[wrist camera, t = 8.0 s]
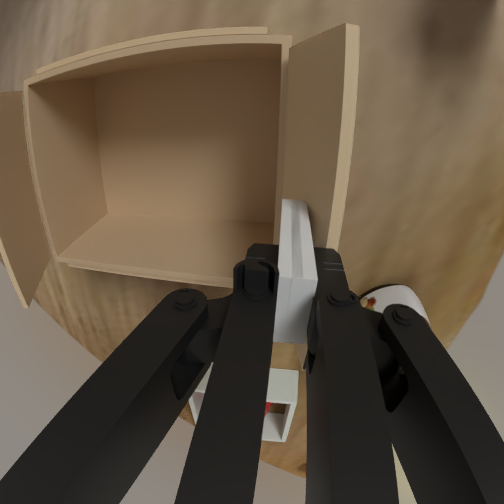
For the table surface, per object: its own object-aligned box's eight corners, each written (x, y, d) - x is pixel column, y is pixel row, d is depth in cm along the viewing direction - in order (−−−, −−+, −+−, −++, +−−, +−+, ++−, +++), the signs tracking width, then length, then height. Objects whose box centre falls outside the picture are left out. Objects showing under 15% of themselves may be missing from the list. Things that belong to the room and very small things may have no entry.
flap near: (302, 370, 15) (310, 369, 15) (345, 22, 7) (359, 26, 7) (275, 284, 22) (282, 283, 22) (288, 48, 14) (297, 49, 14)
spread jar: (405, 267, 33) (435, 336, 23) (429, 322, 37) (453, 387, 27) (322, 310, 38) (325, 384, 28) (357, 357, 42) (365, 423, 32)
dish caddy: (204, 405, 54) (197, 429, 49) (195, 357, 46) (184, 386, 41) (287, 416, 53) (285, 442, 47) (298, 370, 45) (296, 401, 39)
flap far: (51, 255, 25) (47, 256, 25) (21, 91, 17) (17, 92, 16) (28, 308, 18) (23, 308, 18) (-25, 96, 10) (-31, 98, 10)
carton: (108, 219, 35) (56, 266, 26) (92, 68, 26) (23, 74, 16) (284, 232, 33) (277, 294, 24) (293, 50, 23) (292, 26, 14)
